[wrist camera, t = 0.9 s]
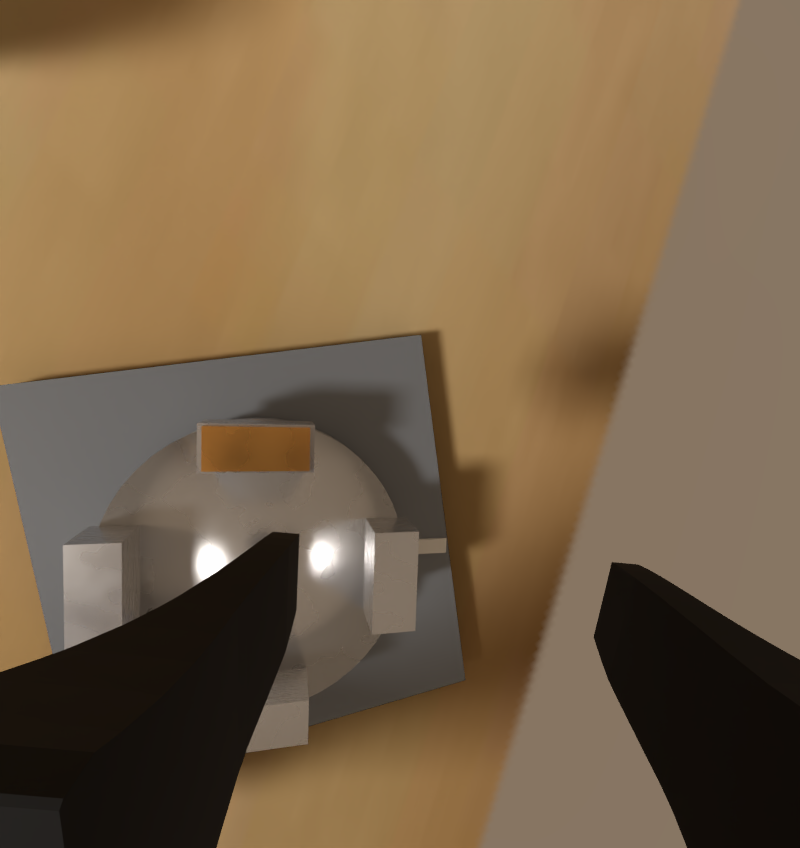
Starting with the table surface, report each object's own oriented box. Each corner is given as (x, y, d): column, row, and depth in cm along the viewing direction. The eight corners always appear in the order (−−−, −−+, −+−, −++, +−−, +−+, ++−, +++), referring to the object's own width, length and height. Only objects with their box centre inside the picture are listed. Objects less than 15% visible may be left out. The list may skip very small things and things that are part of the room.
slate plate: (96, 768, 25) (83, 795, 23) (9, 386, 23) (-11, 386, 21) (456, 665, 29) (466, 681, 28) (413, 337, 27) (421, 334, 26)
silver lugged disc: (131, 729, 24) (95, 812, 19) (69, 437, 22) (13, 450, 17) (416, 651, 27) (443, 705, 22) (380, 391, 25) (401, 393, 21)
